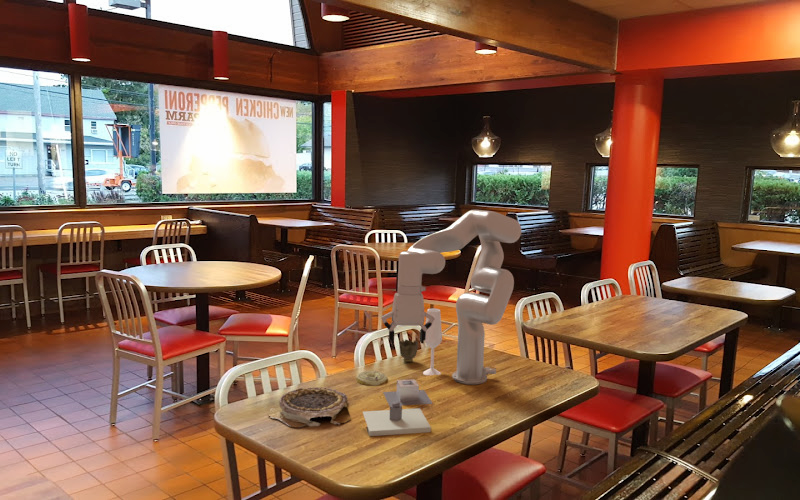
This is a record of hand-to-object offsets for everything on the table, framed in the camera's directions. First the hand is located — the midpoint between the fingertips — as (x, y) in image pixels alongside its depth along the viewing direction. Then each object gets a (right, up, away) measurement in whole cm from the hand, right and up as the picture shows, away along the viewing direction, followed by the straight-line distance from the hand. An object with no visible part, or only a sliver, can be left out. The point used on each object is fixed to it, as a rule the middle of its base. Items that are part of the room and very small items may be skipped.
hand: (406, 342), depth 197 cm
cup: (+1, -14, +43) cm, 45 cm away
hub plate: (-4, -22, -15) cm, 27 cm away
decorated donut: (-12, -18, +18) cm, 28 cm away
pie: (-29, -21, -6) cm, 36 cm away
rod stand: (0, -20, +2) cm, 20 cm away
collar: (0, -18, +2) cm, 18 cm away
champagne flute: (+10, -16, +30) cm, 36 cm away
